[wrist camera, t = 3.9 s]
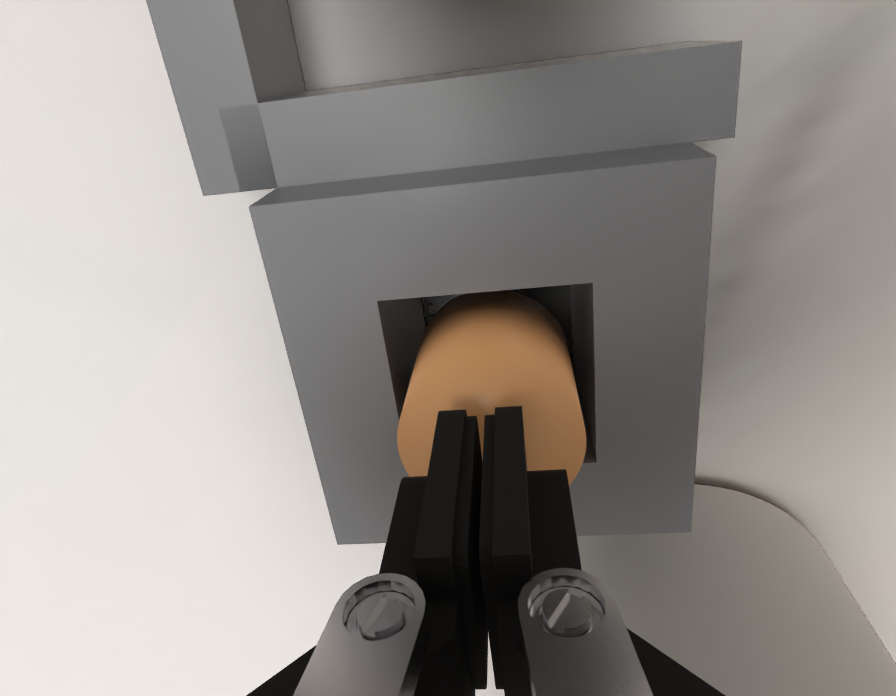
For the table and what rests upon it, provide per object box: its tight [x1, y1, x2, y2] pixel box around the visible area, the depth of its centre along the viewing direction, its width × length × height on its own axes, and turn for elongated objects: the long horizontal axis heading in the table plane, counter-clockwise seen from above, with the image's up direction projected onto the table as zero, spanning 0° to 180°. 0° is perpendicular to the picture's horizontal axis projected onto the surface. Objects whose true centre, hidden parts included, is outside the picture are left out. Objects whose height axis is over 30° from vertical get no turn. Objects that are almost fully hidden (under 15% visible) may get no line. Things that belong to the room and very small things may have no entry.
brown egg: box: [397, 290, 586, 486], centre depth 15 cm, size 4×4×4 cm
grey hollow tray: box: [146, 0, 742, 544], centre depth 15 cm, size 13×24×6 cm, turn 7°
